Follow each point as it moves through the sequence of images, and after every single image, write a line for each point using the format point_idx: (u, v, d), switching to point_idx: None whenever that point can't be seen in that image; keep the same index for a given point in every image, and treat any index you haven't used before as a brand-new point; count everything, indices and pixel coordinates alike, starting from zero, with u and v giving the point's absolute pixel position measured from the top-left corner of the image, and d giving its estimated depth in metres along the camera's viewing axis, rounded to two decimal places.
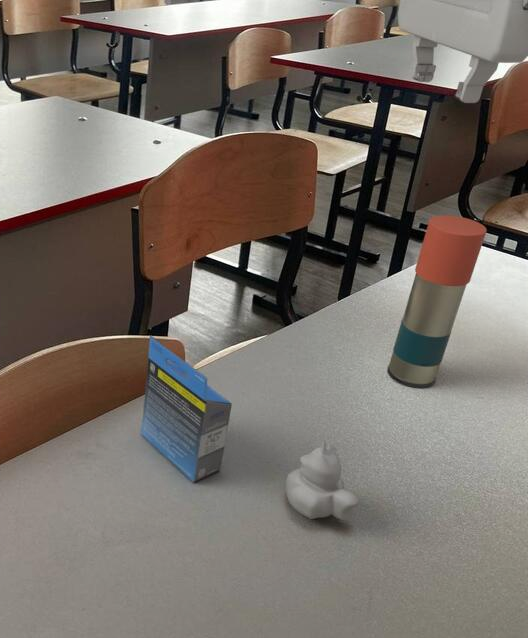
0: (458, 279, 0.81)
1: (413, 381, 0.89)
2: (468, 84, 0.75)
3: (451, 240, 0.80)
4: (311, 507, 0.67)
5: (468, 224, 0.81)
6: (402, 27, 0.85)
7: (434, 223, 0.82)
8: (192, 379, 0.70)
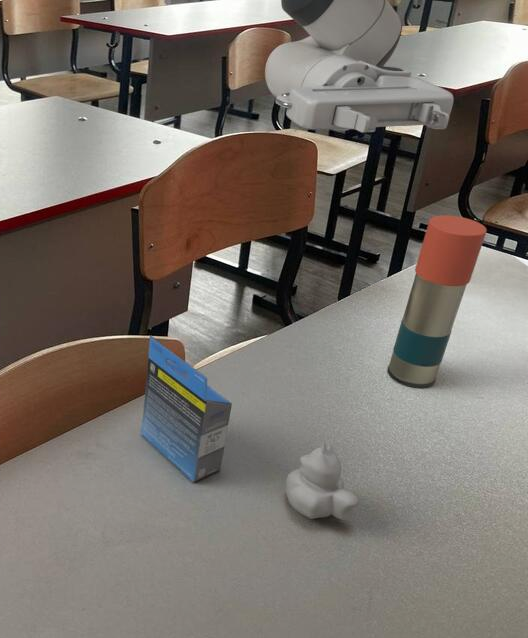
0: (458, 279, 0.81)
1: (413, 381, 0.89)
2: (354, 128, 0.88)
3: (451, 240, 0.80)
4: (311, 507, 0.67)
5: (468, 224, 0.81)
6: None
7: (434, 223, 0.82)
8: (192, 379, 0.70)
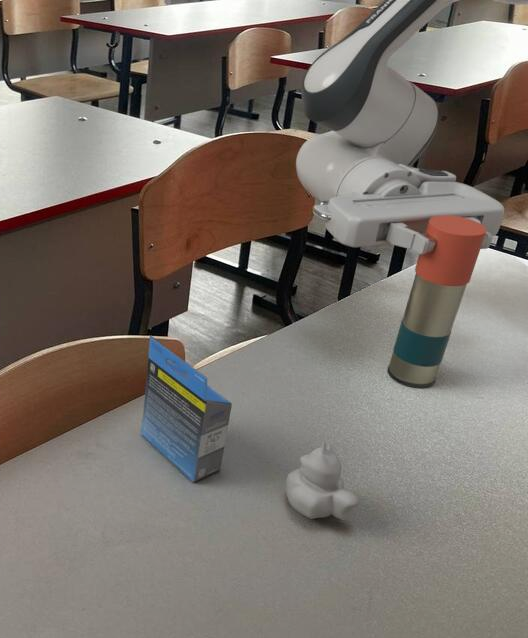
0: (458, 279, 0.81)
1: (413, 381, 0.89)
2: (410, 247, 0.83)
3: (451, 239, 0.80)
4: (311, 507, 0.67)
5: (468, 224, 0.81)
6: None
7: (434, 223, 0.82)
8: (192, 379, 0.70)
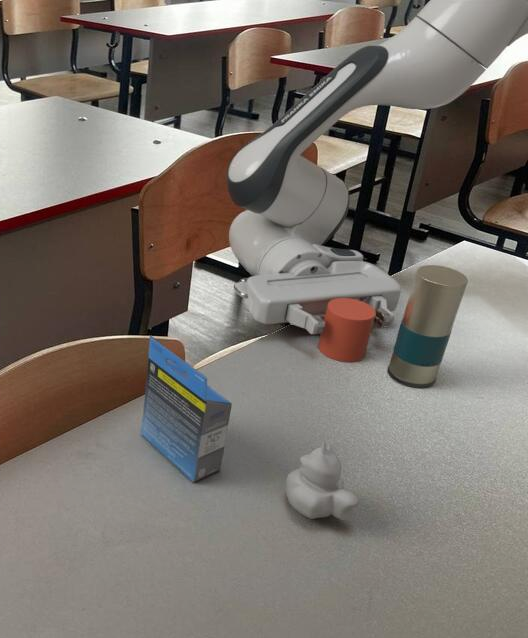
0: (352, 356, 0.93)
1: (413, 381, 0.89)
2: (304, 327, 0.94)
3: (344, 323, 0.91)
4: (311, 507, 0.67)
5: (361, 308, 0.93)
6: None
7: (331, 307, 0.93)
8: (192, 379, 0.70)
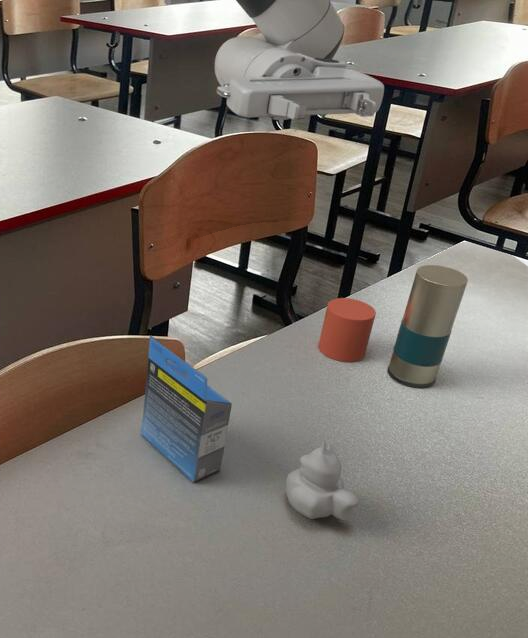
0: (352, 356, 0.93)
1: (413, 381, 0.89)
2: (285, 115, 0.93)
3: (344, 323, 0.91)
4: (311, 507, 0.67)
5: (361, 308, 0.93)
6: None
7: (331, 307, 0.93)
8: (192, 379, 0.70)
